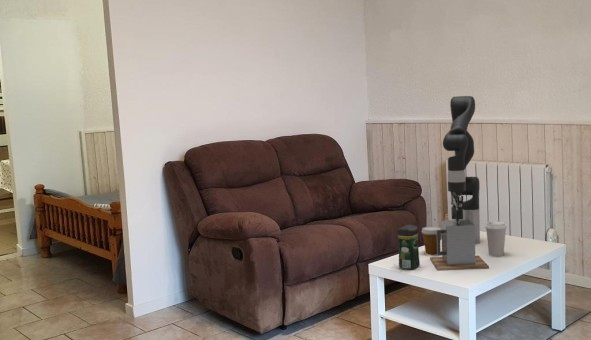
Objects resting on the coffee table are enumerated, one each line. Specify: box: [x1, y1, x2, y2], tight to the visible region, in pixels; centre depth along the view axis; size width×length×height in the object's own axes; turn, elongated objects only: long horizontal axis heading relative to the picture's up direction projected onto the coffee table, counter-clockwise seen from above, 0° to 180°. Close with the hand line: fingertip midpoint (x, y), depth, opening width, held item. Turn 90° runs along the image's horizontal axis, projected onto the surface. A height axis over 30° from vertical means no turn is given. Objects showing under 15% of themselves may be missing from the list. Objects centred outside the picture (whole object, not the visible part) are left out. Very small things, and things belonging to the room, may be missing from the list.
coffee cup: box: [484, 220, 508, 257], centre depth 284 cm, size 10×10×15 cm
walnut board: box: [429, 255, 490, 271], centre depth 273 cm, size 18×22×1 cm
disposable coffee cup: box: [421, 226, 442, 256], centre depth 292 cm, size 10×10×12 cm
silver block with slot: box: [436, 219, 476, 266], centre depth 272 cm, size 12×15×18 cm
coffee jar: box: [397, 224, 421, 270], centre depth 271 cm, size 10×8×19 cm
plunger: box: [450, 206, 463, 223], centre depth 271 cm, size 8×8×20 cm
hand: (457, 216), depth 270 cm, fingers open, 8 cm apart
